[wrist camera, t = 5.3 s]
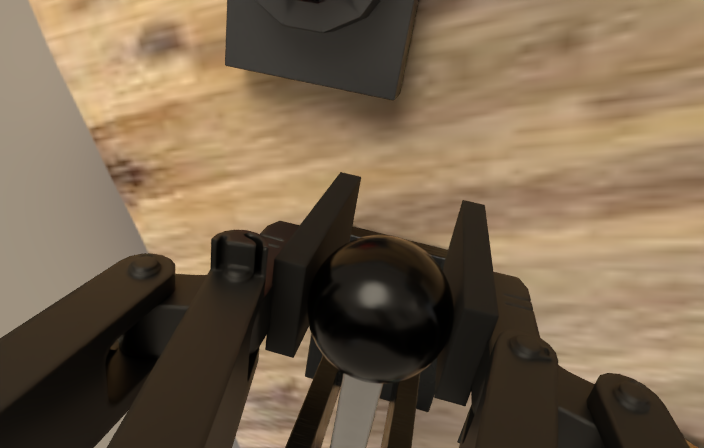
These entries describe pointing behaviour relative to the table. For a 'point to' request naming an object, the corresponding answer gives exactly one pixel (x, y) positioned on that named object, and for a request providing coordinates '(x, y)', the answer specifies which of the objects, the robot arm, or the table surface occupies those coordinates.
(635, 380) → the robot arm
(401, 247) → the switch lever
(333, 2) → the stop box
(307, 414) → the switch bracket
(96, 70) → the table surface
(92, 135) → the table surface
